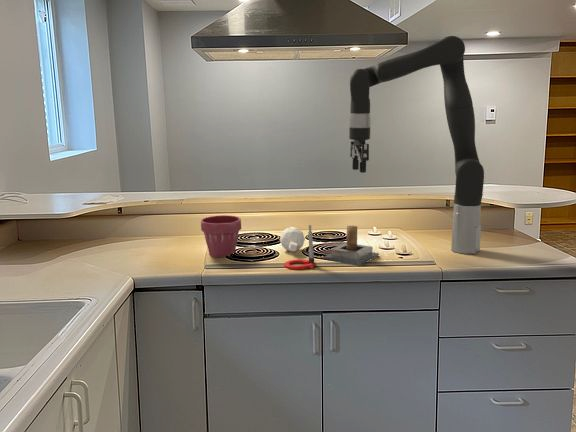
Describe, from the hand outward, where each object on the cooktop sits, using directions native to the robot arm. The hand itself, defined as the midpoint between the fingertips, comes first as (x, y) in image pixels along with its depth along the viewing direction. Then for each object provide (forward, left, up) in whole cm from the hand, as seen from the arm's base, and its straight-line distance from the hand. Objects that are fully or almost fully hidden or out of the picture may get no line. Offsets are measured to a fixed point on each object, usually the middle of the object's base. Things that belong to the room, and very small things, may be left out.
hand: (359, 171), depth 207 cm
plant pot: (+35, +37, -28) cm, 58 cm away
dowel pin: (-6, +16, -28) cm, 33 cm away
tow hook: (+4, +34, -28) cm, 45 cm away
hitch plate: (-6, +16, -28) cm, 33 cm away
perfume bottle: (+16, +21, -28) cm, 39 cm away
